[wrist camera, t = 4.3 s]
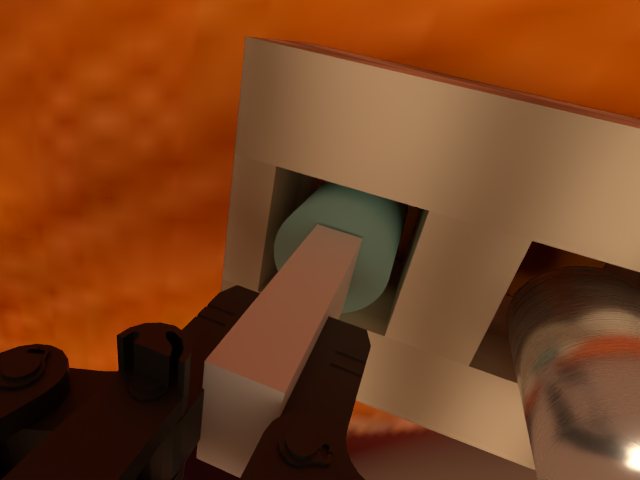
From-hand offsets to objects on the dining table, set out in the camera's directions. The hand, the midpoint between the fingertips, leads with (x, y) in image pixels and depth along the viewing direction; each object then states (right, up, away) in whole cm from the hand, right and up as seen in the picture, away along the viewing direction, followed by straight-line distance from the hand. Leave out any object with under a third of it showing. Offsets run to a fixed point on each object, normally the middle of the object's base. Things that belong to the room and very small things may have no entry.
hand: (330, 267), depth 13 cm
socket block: (+6, +2, +5) cm, 8 cm away
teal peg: (+2, +3, +5) cm, 6 cm away
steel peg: (+8, -2, 0) cm, 8 cm away
